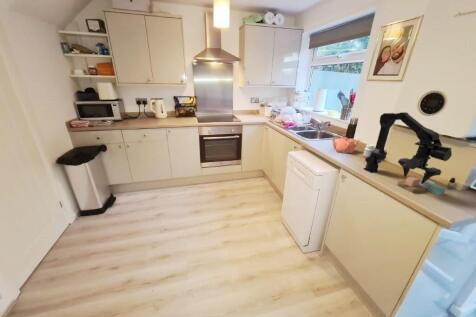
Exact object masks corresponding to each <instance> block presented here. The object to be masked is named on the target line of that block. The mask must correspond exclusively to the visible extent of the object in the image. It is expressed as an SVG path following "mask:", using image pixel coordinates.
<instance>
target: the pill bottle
mask: <svg viewBox="0 0 476 317" xmlns="http://www.w3.org/2000/svg"><path fill="white" fill-rule="evenodd" d="M365 146H366V147H365V148H364V151H363V154H362V159H364V160H365V159H366V158H367V157H369V156H370V155H371V153H372V151H373V150H374V149H375V146H374V144H370V143H369V144H366V145H365Z"/></svg>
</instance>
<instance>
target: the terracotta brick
mask: <svg viewBox="0 0 476 317" xmlns="http://www.w3.org/2000/svg"><path fill="white" fill-rule="evenodd" d="M406 177H407V176H406ZM421 179H422V178H420V177H417V176H414V175H413V176H408V177H407V178H406V179H405V181H406V182H405V184H407V185H409V186H417V185H419V183H420V181H421Z"/></svg>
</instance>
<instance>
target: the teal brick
mask: <svg viewBox="0 0 476 317" xmlns="http://www.w3.org/2000/svg"><path fill="white" fill-rule="evenodd" d="M446 190H447V188H445V187H443V186H441V185H438V184H437V183H436V184H429V186H428V188H427V189H426V191H427V192H430V193H432V194H435V195H437V196H443V195H444V194H445V191H446Z"/></svg>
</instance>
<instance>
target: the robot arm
mask: <svg viewBox="0 0 476 317" xmlns="http://www.w3.org/2000/svg"><path fill="white" fill-rule="evenodd" d="M399 120H400V121H401V122H402V123H404V125H406V126H407V127H408V128H409V129H411V130H412V131H413V132H414V133H415V134H416V137H417V139H418V140H419V141H417V142H414V145H416V146H418V147H417V150H416V153H415V154H414V155H413V156H412V158H408V157H404V158H399V159H398V161H397V163H398V164H399V166H400V167H402V170H403V176H404V177H405V178H406V177H407V176H408V175H409V172H410V170H415V169H419V170H422V171H424V173H423V178H421V179H422V182H421V184H423V183H424V182H426V181H427V180H429V179H430V178H432V177H434V176H435V177H436V176H440V175H441V174H442V170H441V169H439V168H436V167H428V166H429V164H428V161H429V160H431V158H433V159H436V160H439V161H443V162H447V161H448V160H450V158H451V157H452V154H453V153H452V147H449V146H443V144H442V142H441V139H440V134H439V133H438V132H437V131H434V129H431V128H427V127H425V125H423V124H421V123H420V122H419V121H418V120H416V119H415V118H414V117H413V116H411V115H410V114H409V113H408V112H407V111H405V112H403V111H401V112H398V113H397V112H396V113H395V112H389V113H388V112H386V113H382V114H380V116H379V125H380V129H379V132H378V136H377V141H376V143H375V144H376V145H375V146H374V148H373V149H374V150H373V151H372V153H371V155H370V156H369V157H367V158H366V159H364V161H365V162H366V164H365V167H363V170H365V171H367V172H369V173H378V172H379V170H378V169H379V164H381V163H382V162H383V161H385V159H387V154H388V152H386V151H385V148H386V145H387V141H388V138H389V137H388V136H389V134H390V130H391V128H392V126H393V125H394V124H395V123H396V121H399Z"/></svg>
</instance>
